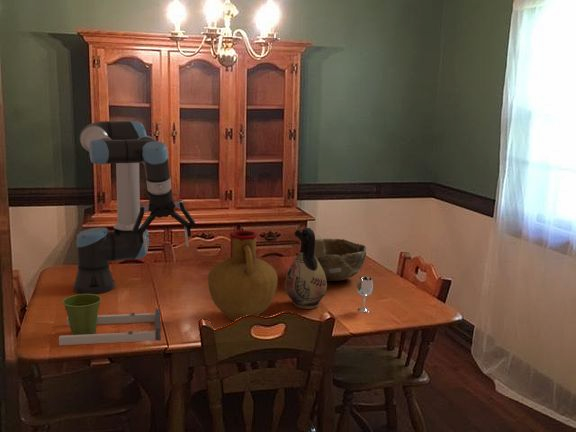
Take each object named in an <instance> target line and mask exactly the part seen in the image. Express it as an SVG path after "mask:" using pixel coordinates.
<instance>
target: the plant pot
mask: <svg viewBox="0 0 576 432" xmlns="http://www.w3.org/2000/svg"><path fill="white" fill-rule="evenodd" d="M102 299H103V297H101V295H98V294H82V293H78V294H74V295H70V296H67V297H65V298H64V299H63V300H62V303H61V304H62V305H63V306H64V309H65V311H66V315H67V317H68V319H69V323H70V325H69V327H70V332H71V335H86V334H96V331H97V325H98V324H97V316H98V315H99V309H100V303H101V302H102Z"/></svg>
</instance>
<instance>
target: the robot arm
mask: <svg viewBox="0 0 576 432" xmlns="http://www.w3.org/2000/svg"><path fill="white" fill-rule="evenodd" d="M79 142H80V145H81V147H82V148H83V149H84V150H86V151H87V152H89V159H90V162H91V164H96V165H105V164H107V165H109V164H115V167H116V168H115V169H116V170H115V171H116V208H117V209H116V213H117V215H116V217H117V218H116V219H117V220H116V221H117V222H116V223H115V224H114V225H113V230H111V231H109V229H108V228H107V227H103V226H102V227H91V228H88V229H85V230H82V231H80V232H79V233H78V234H77V235H76V246H75V247H76V250H77V251H76V252H77V272H76V276H75V281H74V283H73V291H74V292H76V293H78V294H95V295H98V294H104V293H108V292H110V291H112V290H114V289H115V280H114V278H113V275H112V272H111V269H110V262H115V261H116V262H117V261H125V260H127V261H129V260H138V259H139V260H140V259H143V258H145V256H146V255H147V253H148V250H149V243H150V238H149V235H150V234H149V231H148V227H150V225H151V223H152V222H153V221H154V220H155V219H156V218H158V219H159V218H166V217H169V216H170V217H172V219H175V221H177V222H179V224H181V225H182V226H183V227H184V228H183V230H184V239H185V245H186V246H185V247H186V248H189V247H190V246H189V245H190V244H189V237H190V238H191V236H192V230H191V229H192V228H194V227H196V221H195V219H194V218H193V217H192V216H191V214H190V212H189V210H187V208H186V206H185V205H184V203H183V202H184V201H183V200H182V199H179V200H178V201H175V202H174V199H173V198H174V197H173V190H172V182H171V181H172V180H171V171H170V162H169V151H168V147H167V144H165V143H164V142H161V141H157V140H156V139H155V138H153V137H152V136H150V135H147V131H146V128H145V126H144V124H143V123H142V122H140V121H133V120H121V121H120V120H115V121H113V120H111V121H110V120H109V121H107V120H103V121H102V120H100V121H95V122H92V123H90V124H88V125H86V126H85V127H84V128H83V129H82V130H81V131H80V134H79ZM140 164H143V166H144V173H145V180H146V181H145V182H146V188H147V196H148V205H144V204H141V203H140V202H141V199H140V197H141V196H140V194H141V193H140ZM176 207H177V209H179V210H180V211H181V212H182V214H183V215H184V216H185V218H186V219H187V220H186V219H185V218H184V217H182V216H181V215H180V214H179V213H178V212H177V211H176V210H175V208H176ZM147 211H149V212H150V213H149V215H148V217H147V218H146V219H145V221H143V218H144V215H145V213H146V212H147ZM142 221H143V223H142Z"/></svg>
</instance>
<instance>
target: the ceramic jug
mask: <svg viewBox="0 0 576 432" xmlns="http://www.w3.org/2000/svg"><path fill="white" fill-rule="evenodd" d="M294 236H295V237H296V238H298V239H299V241H300V250H299V252H298V254H297V255H296V256H295V257H294V259H293V260H292V263H291V264H290V265H289V268H288V270H287V273H286V277H285V281H284V287H285V291H286V292H285V293H286V294H287V296H288V298H289V299H290V300H291V301H292V303H293V305H294V307H296V308H300V309H303V310H305V309H307V310H311V309H314V308H318V307H319V305H320V301H321V300H322V299H323V298H324V296H325V294H326V293H327V289H328V283H327V282H328V281H326V276H325V273H324V270H323V268H322V267H321V265H320V263H319V262H318V260H317V259H316V257H315V256H314V249H315V240H316V235H315V232H314V230H313V229H311V227H305V228H303V229H302V231H301V230H300V229H296V230H295V232H294Z"/></svg>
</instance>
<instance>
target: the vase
mask: <svg viewBox="0 0 576 432" xmlns="http://www.w3.org/2000/svg"><path fill="white" fill-rule="evenodd" d="M257 236H258V233H257V232H255V231H250V230H235V231H232V232H230V233H229V237H230V257H228V258H226V259H223V260H222V261H219V262H217V263H216V264H214V265H213V266H212V268H211V269H210V270H209V272H208V273H207V282H208V283H207V284H208V292H209V295H210V297H211V299H212V301H213V303H214V305H215V306H216V308H217V309H218V310H219V311H220V312H222V313H223V314H224V315H225V316H227V317H228V318H229V319H230V320H231V319H232V320H231V321H233V320H236V319H238V318H240V317H243V316H246V315H258V316H259V315H261V314H262V313H263V312H264V311H266V310H267V309H268V307H269V306H270V305H271V303H272V301H273V298H274V296H275V294H276V292H277V287H278V274H277V271H276V270H275V268H274V267H273V266H272V265H271V264H269V263H267V262H266V261H265V260H262V259H260V258H257V252H256V251H257Z"/></svg>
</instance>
